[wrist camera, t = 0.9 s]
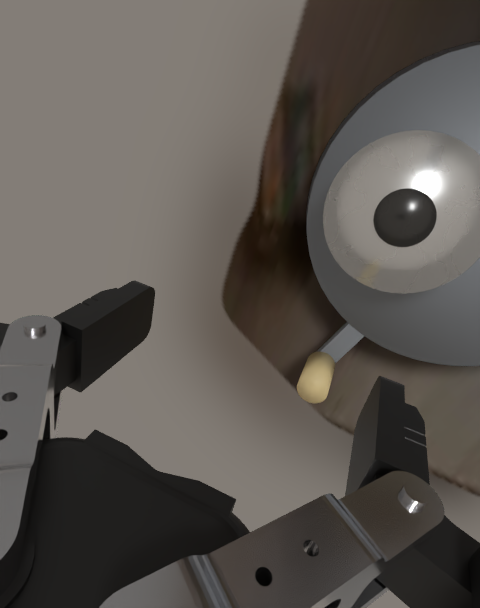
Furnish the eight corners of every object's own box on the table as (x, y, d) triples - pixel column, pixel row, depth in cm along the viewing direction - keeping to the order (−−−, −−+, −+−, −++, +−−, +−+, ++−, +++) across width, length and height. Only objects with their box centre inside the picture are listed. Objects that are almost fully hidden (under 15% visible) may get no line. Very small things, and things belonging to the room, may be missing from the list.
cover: (360, 112, 26) (355, 110, 23) (522, 155, 24) (538, 158, 21) (311, 252, 30) (303, 264, 28) (443, 298, 28) (447, 316, 26)
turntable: (372, 14, 25) (364, -16, 20) (763, 96, 21) (883, 84, 15) (266, 340, 37) (245, 374, 32) (498, 436, 33) (516, 493, 28)
